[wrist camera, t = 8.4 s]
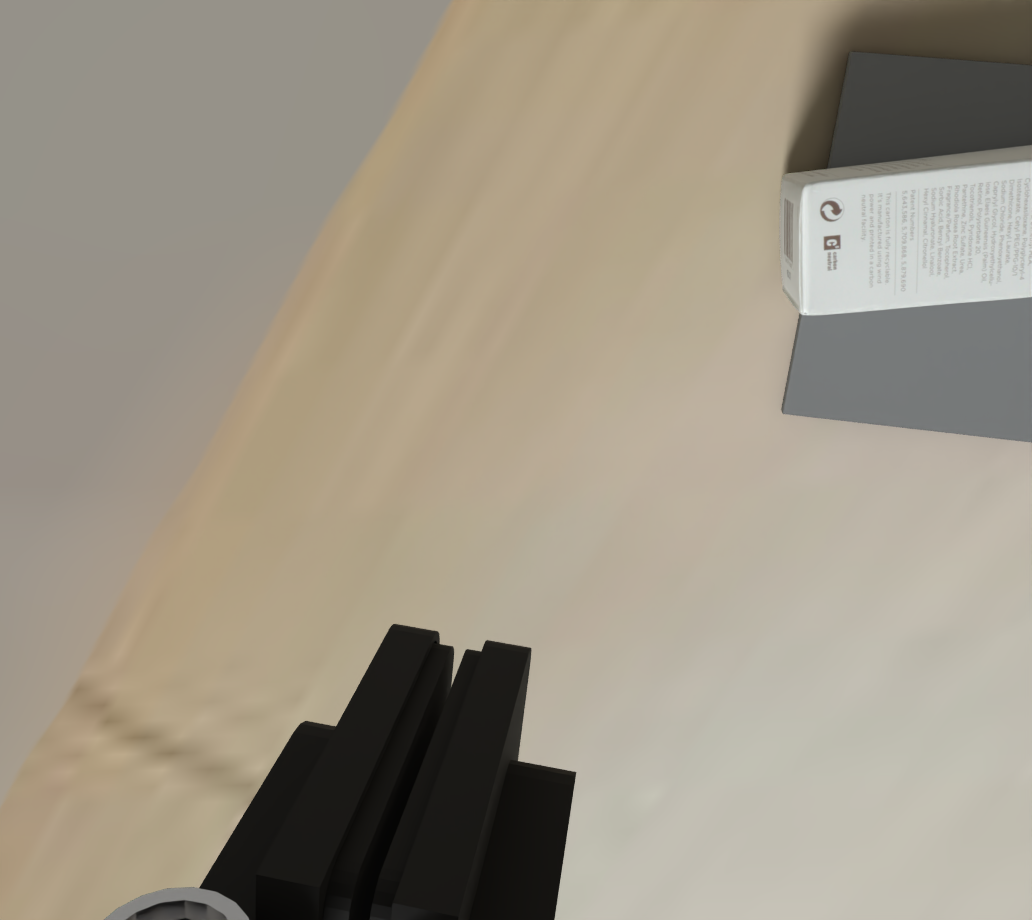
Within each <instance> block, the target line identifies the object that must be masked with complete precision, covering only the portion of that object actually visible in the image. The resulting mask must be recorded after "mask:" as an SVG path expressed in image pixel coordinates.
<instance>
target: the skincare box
mask: <svg viewBox="0 0 1032 920" xmlns="http://www.w3.org/2000/svg"><path fill="white" fill-rule="evenodd" d="M780 259H781V275H782V285H783V292H784V293H785V295H786V296H787V297H788V299H789V301H790V302H791V303H792V305H793V306H794V307H795V308H796V309H797V310H798V311H799V313H800V314H802V315H829V314H841V313H853V312H865V311H876V310H887V309H897V308H908V307H920V306H931V305H942V304H954V303H966V302H979V301H993V300H1004V299H1016V298H1027V297H1032V145H1027V146H1019V147H1010V148H1002V149H993V150H985V151H976V152H968V153H959V154H951V155H942V156H934V157H925V158H917V159H908V160H900V161H891V162H882V163H874V164H865V165H856V166H848V167H839V168H830V169H821V170H813V171H804V172H796V173H788V174H785V175H784V176H783V178H782V184H781V196H780Z"/></svg>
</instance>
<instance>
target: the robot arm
mask: <svg viewBox="0 0 1032 920" xmlns="http://www.w3.org/2000/svg"><path fill="white" fill-rule="evenodd" d="M439 643H440V638H439V633H438V631H432V630H426V629H421V628H415V627H409V626H404V625H398V624H393V625H392V626H391V627H390V629H389V631H388V632H387V634H386V636H385V638H384V640H383V642H382V643H381V645H380V647H379V649H378V651H377V653H376V654H375V656H374V658H373V660H372V662H371V664H370V665H369V667H368V669H367V671H366V673H365V675H364V676H363V678H362V680H361V682H360V684H359V686H358V687H357V689H356V691H355V693H354V695H353V697H352V698H351V700H350V702H349V704H348V706H347V708H346V710H345V711H344V713H343V715H342V717H341V719H340V721H339V722H338V724H337V726H336V727H335V726H330V725H325V724H320V723H314V722H309V721H305V722H303V723H301V724H300V725H299V726H298V727H297V729H296V730H295V731H294V733H293V734H292V736H291V738H290V739H289V741H288V743H287V744H286V746H285V748H284V749H283V751H282V752H281V754H280V756H279V757H278V759H277V761H276V762H275V764H274V766H273V767H272V769H271V771H270V772H269V774H268V776H267V777H266V779H265V780H264V782H263V784H262V785H261V787H260V789H259V790H258V792H257V794H256V795H255V797H254V799H253V800H252V802H251V804H250V805H249V807H248V808H247V810H246V812H245V813H244V815H243V817H242V818H241V820H240V822H239V823H238V825H237V827H236V828H235V830H234V832H233V833H232V835H231V836H230V838H229V840H228V841H227V843H226V845H225V846H224V848H223V850H222V851H221V853H220V855H219V856H218V858H217V860H216V861H215V863H214V864H213V866H212V868H211V869H210V871H209V873H208V874H207V876H206V878H205V879H204V881H203V883H202V884H201V886H200V887H199V888H195V887H185V888H167V889H163V890H160V891H156V892H153V893H149V894H146V895H142V896H140V897H138V898H136V899H134V900H132V901H130V902H128V903H127V904H125V905H123V906H121V907H119V908H117V909H116V910H115V911H113V912H112V913H111V914H110V915H109V916H108V917H106V918H105V919H104V920H554V918H555V911H556V905H557V898H558V891H559V885H560V878H561V871H562V864H563V858H564V851H565V844H566V837H567V831H568V824H569V817H570V810H571V804H572V797H573V790H574V784H575V777H576V772H572V771H567V770H562V769H557V768H551V767H546V766H541V765H536V764H530V763H525V762H520V761H518V755H519V747H520V739H521V731H522V723H523V715H524V708H525V700H526V692H527V684H528V676H529V669H530V660H531V648H528V647H523V646H517V645H511V644H506V643H500V642H494V641H489V640H487V641H486V642H485V644H484V646H483V649H482V652H480V651H475V650H469V649H467V650H466V651H465V653H464V656H463V658H462V661H461V664H460V666H459V669H458V671H457V674H456V677H455V679H454V682H453V684H452V687H451V682H452V671H453V660H454V648H453V647H452V646H447V645H441V644H439Z"/></svg>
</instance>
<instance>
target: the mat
mask: <svg viewBox="0 0 1032 920" xmlns="http://www.w3.org/2000/svg"><path fill="white" fill-rule="evenodd" d="M1027 145H1032V65H1022V64H1009V63H995V62H982V61H969V60H956V59H943V58H930V57H917V56H904V55H890V54H877V53H864V52H849V57H848V62H847V67H846V72H845V78H844V83H843V88H842V93H841V99H840V104H839V109H838V114H837V120H836V125H835V130H834V135H833V141H832V146H831V151H830V156H829V162H828V167H827V169H830V168H839V167H848V166H856V165H865V164H874V163H882V162H891V161H900V160H908V159H917V158H925V157H934V156H942V155H951V154H959V153H968V152H976V151H985V150H993V149H1002V148H1010V147H1019V146H1027ZM781 410H782V413H783V414H788V415H797V416H806V417H814V418H823V419H832V420H841V421H849V422H858V423H867V424H875V425H884V426H893V427H902V428H910V429H919V430H928V431H937V432H945V433H954V434H963V435H971V436H980V437H989V438H998V439H1006V440H1015V441H1024V442H1032V297H1027V298H1016V299H1004V300H993V301H979V302H966V303H954V304H942V305H931V306H920V307H908V308H897V309H887V310H876V311H865V312H853V313H841V314H829V315H802V314H799V319H798V325H797V330H796V335H795V340H794V346H793V351H792V356H791V362H790V367H789V372H788V377H787V383H786V388H785V393H784V398H783V404H782V409H781Z"/></svg>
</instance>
